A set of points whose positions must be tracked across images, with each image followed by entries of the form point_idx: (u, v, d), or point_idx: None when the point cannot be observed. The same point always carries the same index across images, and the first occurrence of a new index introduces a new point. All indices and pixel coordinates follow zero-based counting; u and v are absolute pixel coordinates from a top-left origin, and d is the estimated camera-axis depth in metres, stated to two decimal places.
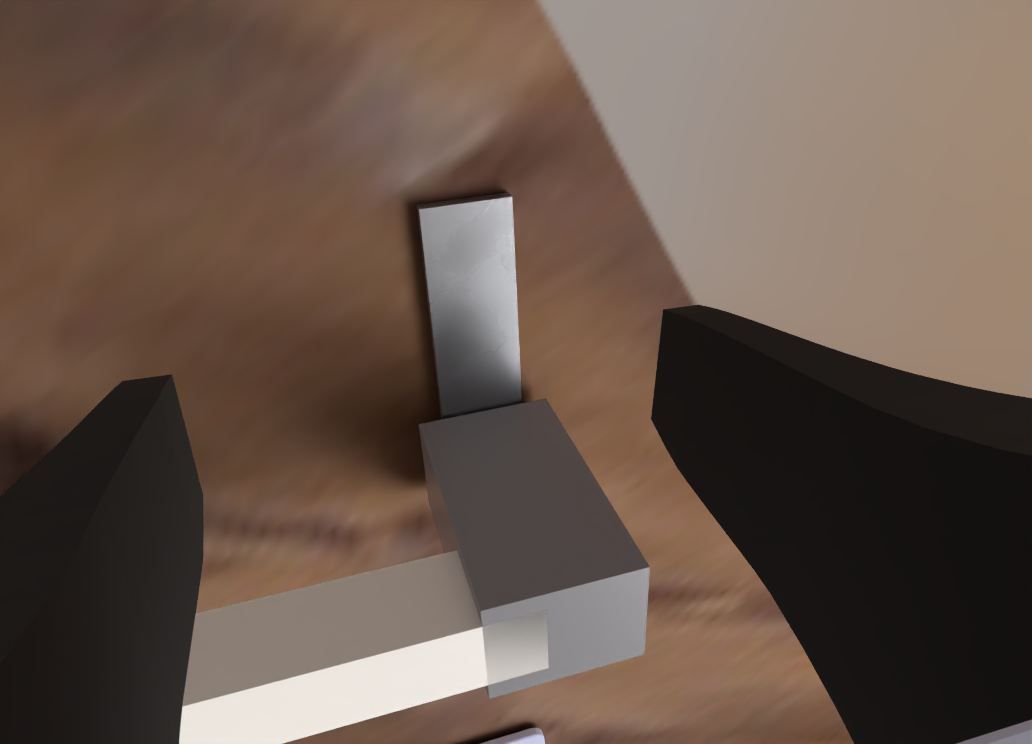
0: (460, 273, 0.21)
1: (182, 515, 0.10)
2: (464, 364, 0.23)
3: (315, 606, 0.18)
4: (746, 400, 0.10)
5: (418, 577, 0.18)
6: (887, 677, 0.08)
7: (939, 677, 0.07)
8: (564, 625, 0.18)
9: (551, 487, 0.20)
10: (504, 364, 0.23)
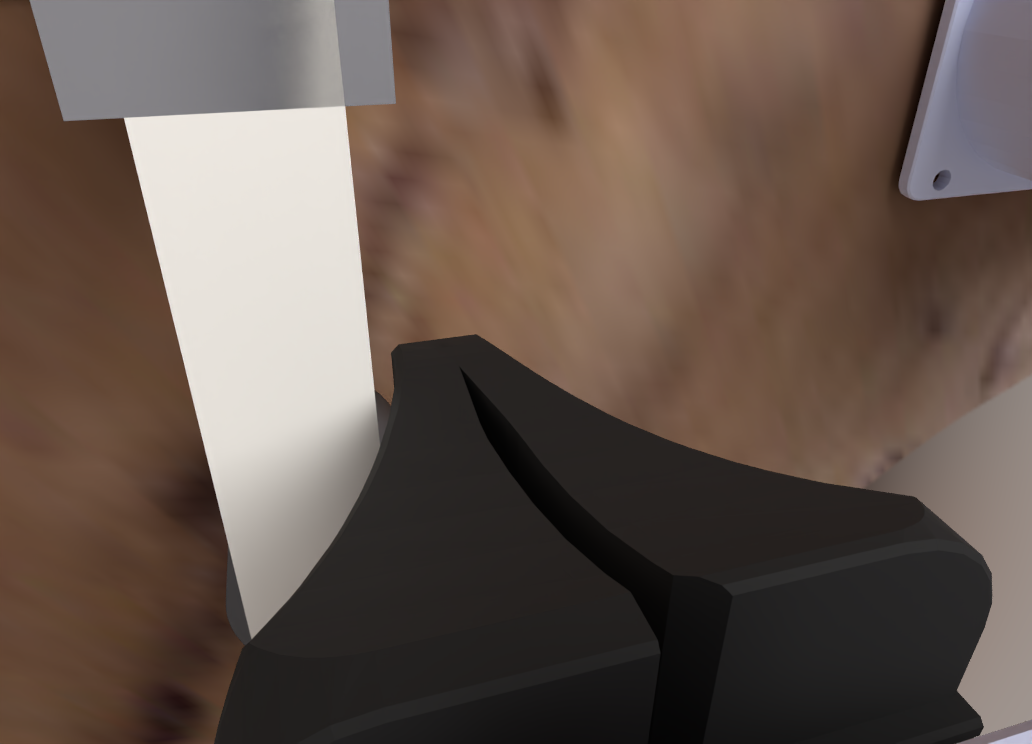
0: None
1: None
2: None
3: None
4: None
5: None
6: None
7: None
8: None
9: None
10: None
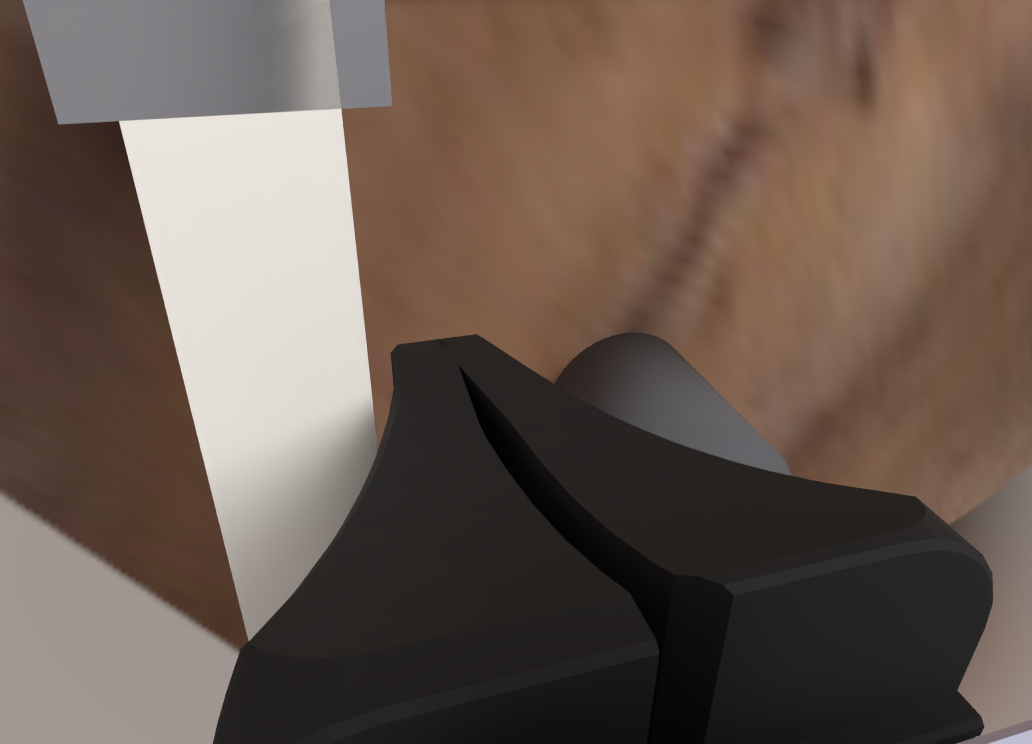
0: None
1: None
2: None
3: None
4: None
5: None
6: None
7: None
8: None
9: None
10: None
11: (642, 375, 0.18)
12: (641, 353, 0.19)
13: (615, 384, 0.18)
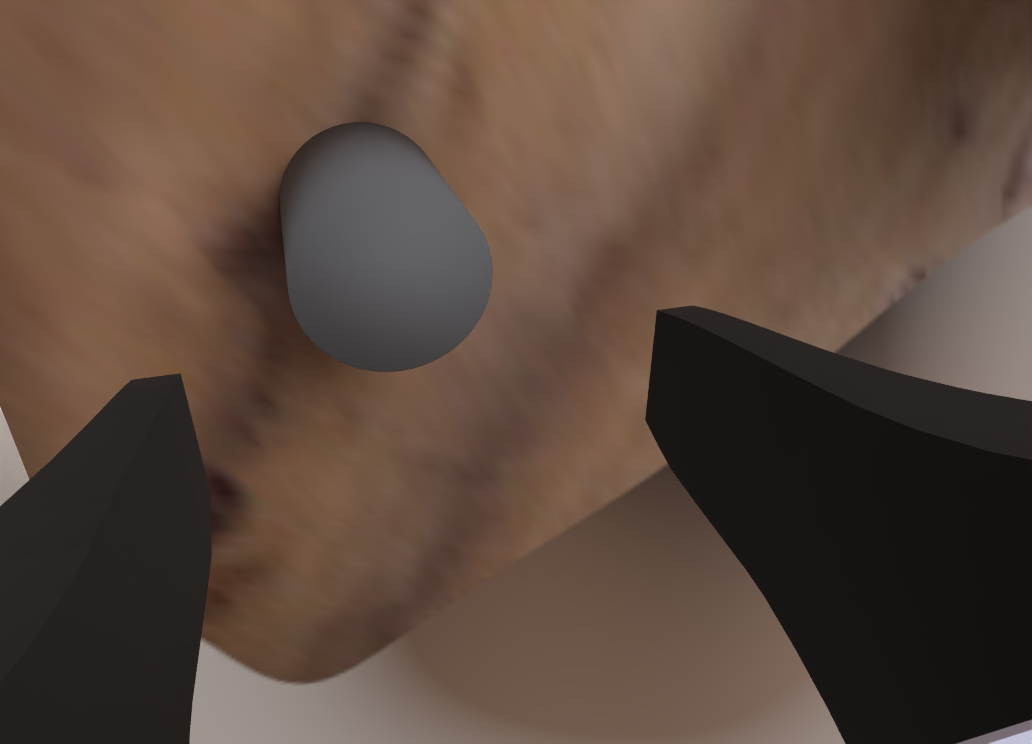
0: None
1: (191, 513, 0.10)
2: None
3: None
4: (739, 401, 0.10)
5: None
6: (879, 679, 0.08)
7: (930, 680, 0.07)
8: None
9: None
10: None
11: (347, 145, 0.16)
12: (360, 133, 0.17)
13: (318, 157, 0.17)
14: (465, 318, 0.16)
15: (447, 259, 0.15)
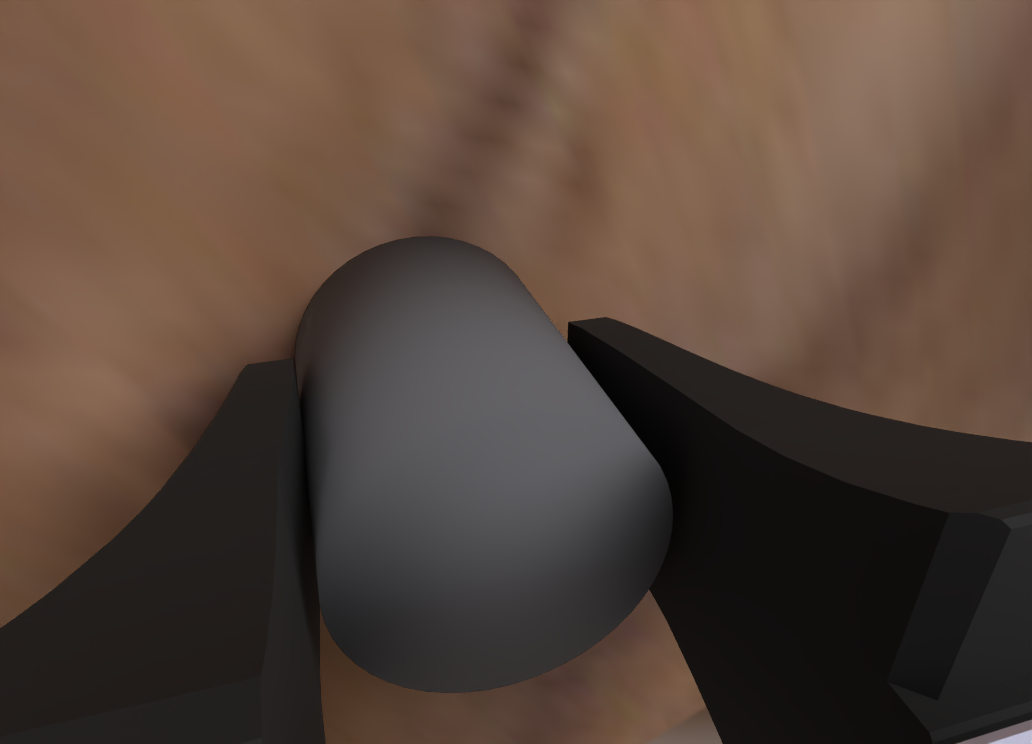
0: None
1: None
2: None
3: None
4: (637, 419, 0.10)
5: None
6: (761, 713, 0.08)
7: (802, 717, 0.07)
8: None
9: None
10: None
11: (411, 296, 0.10)
12: (427, 264, 0.11)
13: (364, 314, 0.10)
14: (619, 601, 0.09)
15: (600, 522, 0.09)
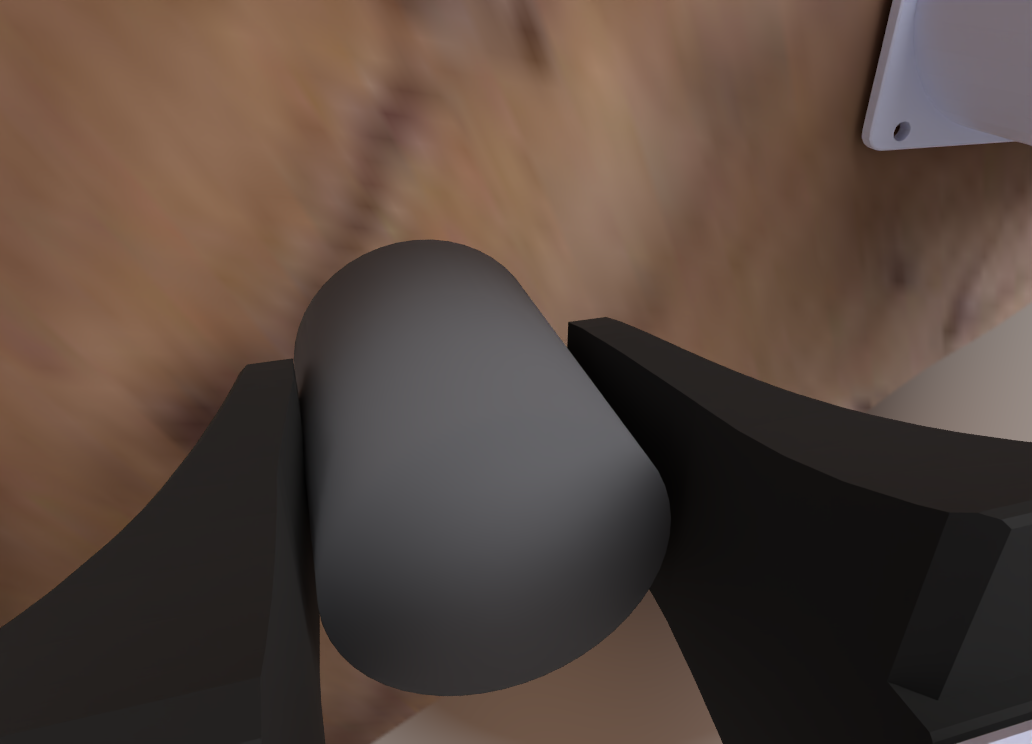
0: None
1: None
2: None
3: None
4: (638, 418, 0.10)
5: None
6: (761, 713, 0.08)
7: (803, 717, 0.07)
8: None
9: None
10: None
11: (412, 299, 0.10)
12: (428, 267, 0.11)
13: (363, 316, 0.10)
14: (616, 605, 0.09)
15: (598, 526, 0.09)
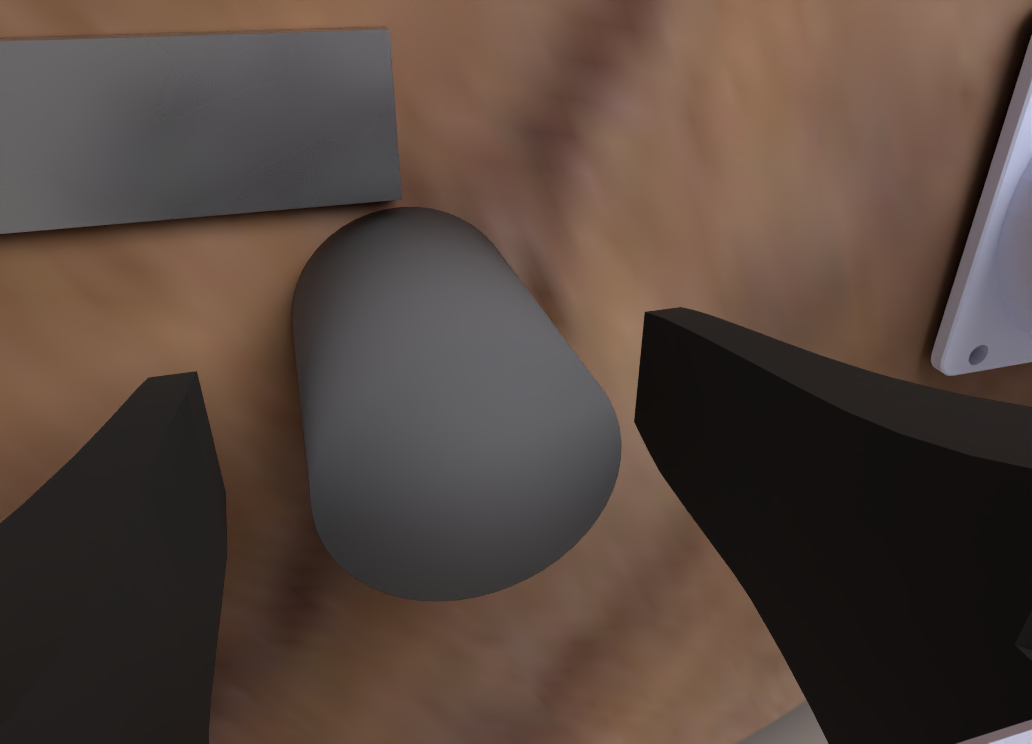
0: None
1: (208, 510, 0.10)
2: None
3: None
4: (725, 404, 0.10)
5: None
6: (863, 684, 0.08)
7: (913, 685, 0.07)
8: None
9: None
10: None
11: (396, 254, 0.11)
12: (412, 229, 0.12)
13: (353, 269, 0.11)
14: (574, 522, 0.11)
15: (556, 446, 0.10)
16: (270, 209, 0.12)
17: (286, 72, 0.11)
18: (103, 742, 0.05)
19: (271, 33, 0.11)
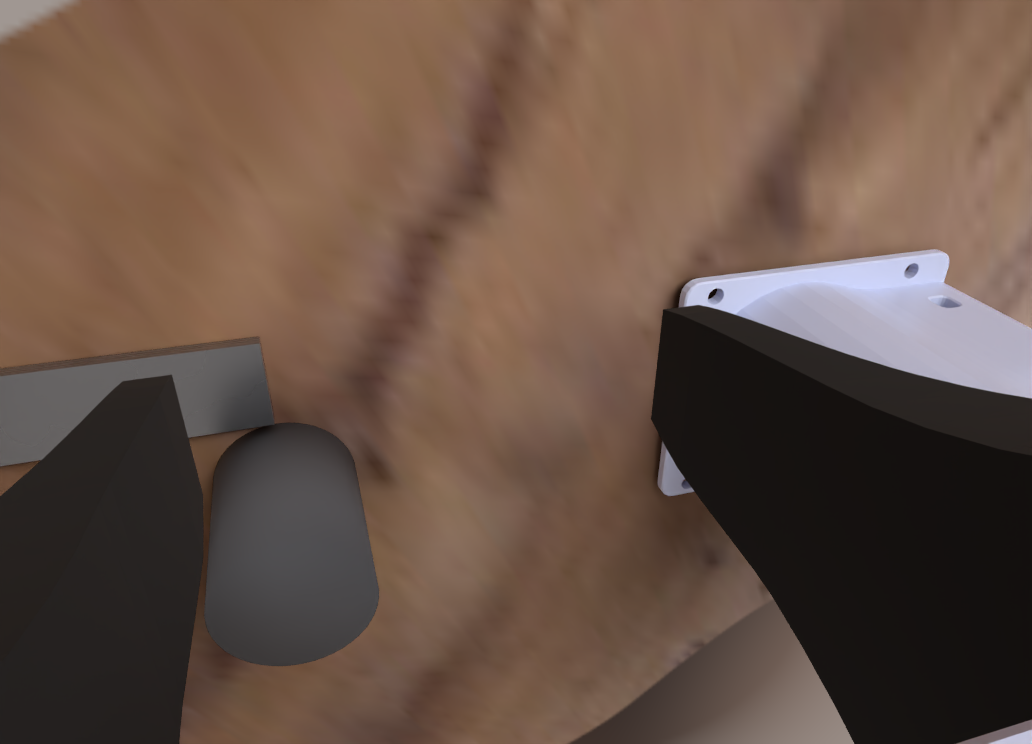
0: None
1: (182, 515, 0.10)
2: (10, 436, 0.19)
3: None
4: (746, 400, 0.10)
5: None
6: (887, 677, 0.08)
7: (939, 677, 0.07)
8: None
9: None
10: (6, 394, 0.18)
11: (263, 469, 0.20)
12: (278, 446, 0.21)
13: (240, 476, 0.20)
14: (357, 622, 0.19)
15: (339, 586, 0.18)
16: (195, 436, 0.20)
17: (201, 369, 0.20)
18: None
19: (191, 351, 0.19)
